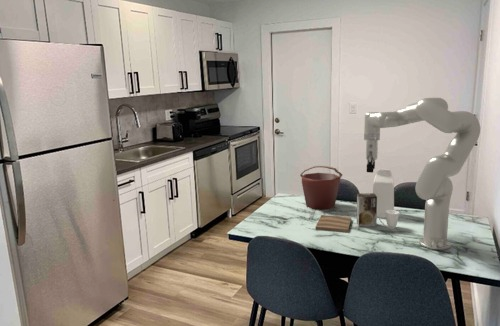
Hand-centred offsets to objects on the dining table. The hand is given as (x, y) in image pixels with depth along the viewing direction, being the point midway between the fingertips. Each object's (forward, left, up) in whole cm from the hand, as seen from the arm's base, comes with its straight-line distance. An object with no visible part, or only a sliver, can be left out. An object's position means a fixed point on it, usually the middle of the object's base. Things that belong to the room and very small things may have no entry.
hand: (370, 170), depth 195 cm
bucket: (+27, +29, -29) cm, 49 cm away
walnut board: (-5, +17, -29) cm, 34 cm away
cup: (-1, -10, -29) cm, 30 cm away
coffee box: (-1, +1, -29) cm, 29 cm away
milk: (+19, -7, -29) cm, 35 cm away
